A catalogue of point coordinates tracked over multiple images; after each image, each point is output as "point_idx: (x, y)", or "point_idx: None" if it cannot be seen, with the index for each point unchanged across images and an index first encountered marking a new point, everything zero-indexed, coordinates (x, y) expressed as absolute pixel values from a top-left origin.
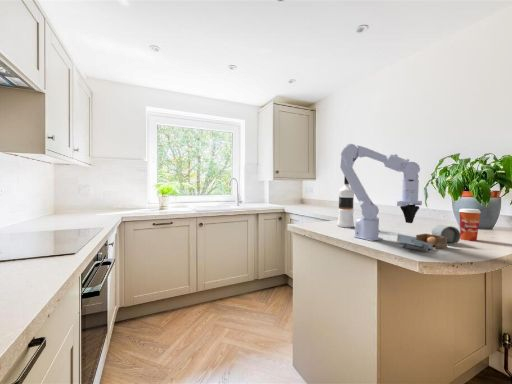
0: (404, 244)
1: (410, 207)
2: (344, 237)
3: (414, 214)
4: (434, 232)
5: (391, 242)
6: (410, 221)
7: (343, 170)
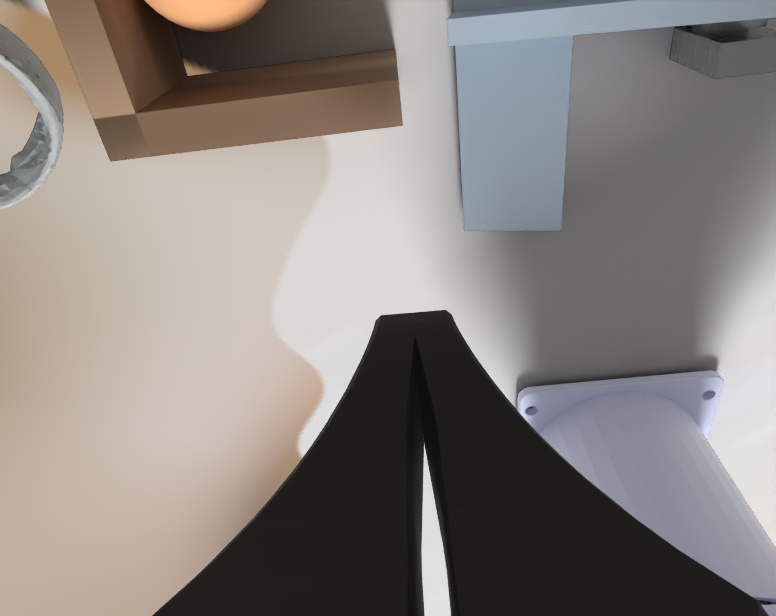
0: (758, 29)
1: None
2: (761, 522)
3: (371, 442)
4: None
5: (571, 273)
6: (460, 335)
7: None
